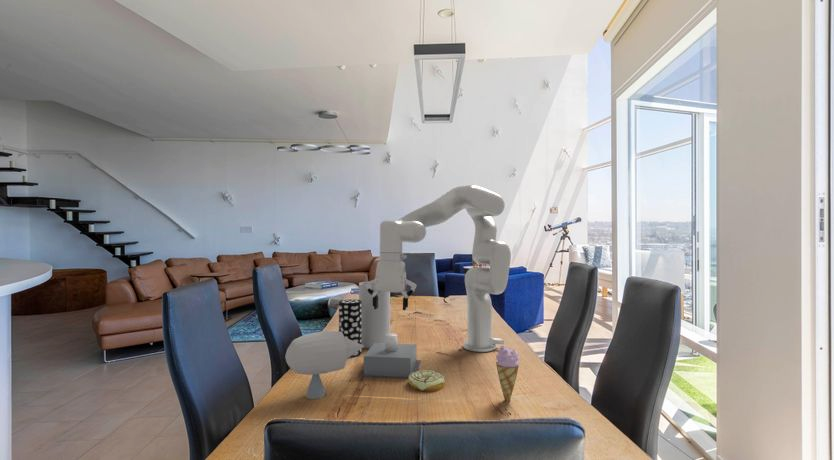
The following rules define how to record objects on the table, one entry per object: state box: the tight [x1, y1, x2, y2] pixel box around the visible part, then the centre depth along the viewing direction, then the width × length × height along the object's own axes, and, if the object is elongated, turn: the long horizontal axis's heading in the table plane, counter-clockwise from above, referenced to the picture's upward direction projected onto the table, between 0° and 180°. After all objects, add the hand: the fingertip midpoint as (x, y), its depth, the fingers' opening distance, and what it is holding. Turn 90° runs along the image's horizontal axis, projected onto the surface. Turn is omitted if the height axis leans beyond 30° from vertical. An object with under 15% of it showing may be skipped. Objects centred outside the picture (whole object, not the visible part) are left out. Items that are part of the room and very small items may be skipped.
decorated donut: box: [407, 369, 445, 392], centre depth 119 cm, size 10×11×4 cm
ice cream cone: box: [495, 345, 520, 402], centre depth 109 cm, size 7×6×15 cm
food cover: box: [363, 333, 417, 377], centre depth 133 cm, size 15×15×11 cm
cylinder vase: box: [358, 280, 391, 349], centre depth 162 cm, size 12×12×25 cm
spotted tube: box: [338, 298, 363, 359], centre depth 148 cm, size 8×8×20 cm
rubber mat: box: [357, 359, 422, 380], centre depth 133 cm, size 18×18×1 cm
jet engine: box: [285, 330, 364, 400], centre depth 113 cm, size 15×20×18 cm
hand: (390, 309), depth 133 cm, fingers open, 9 cm apart
